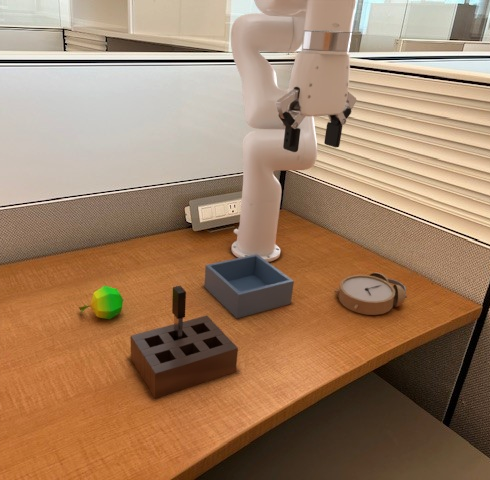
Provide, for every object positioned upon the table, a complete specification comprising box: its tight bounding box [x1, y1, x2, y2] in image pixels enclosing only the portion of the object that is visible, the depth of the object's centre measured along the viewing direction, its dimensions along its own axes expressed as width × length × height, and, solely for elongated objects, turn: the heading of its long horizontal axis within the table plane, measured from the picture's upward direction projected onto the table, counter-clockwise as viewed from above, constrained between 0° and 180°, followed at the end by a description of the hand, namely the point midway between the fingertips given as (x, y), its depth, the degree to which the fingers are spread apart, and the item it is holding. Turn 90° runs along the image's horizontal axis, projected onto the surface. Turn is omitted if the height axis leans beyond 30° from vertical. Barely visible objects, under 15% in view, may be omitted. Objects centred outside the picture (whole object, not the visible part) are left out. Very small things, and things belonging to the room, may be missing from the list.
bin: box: [203, 254, 295, 319], centre depth 103 cm, size 14×14×6 cm
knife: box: [171, 285, 187, 341], centre depth 81 cm, size 2×1×14 cm, turn 28°
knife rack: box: [130, 315, 239, 399], centre depth 82 cm, size 11×15×5 cm
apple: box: [78, 285, 124, 320], centre depth 94 cm, size 7×6×9 cm
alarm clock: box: [333, 271, 408, 316], centre depth 104 cm, size 11×5×15 cm
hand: (311, 148), depth 85 cm, fingers open, 9 cm apart
